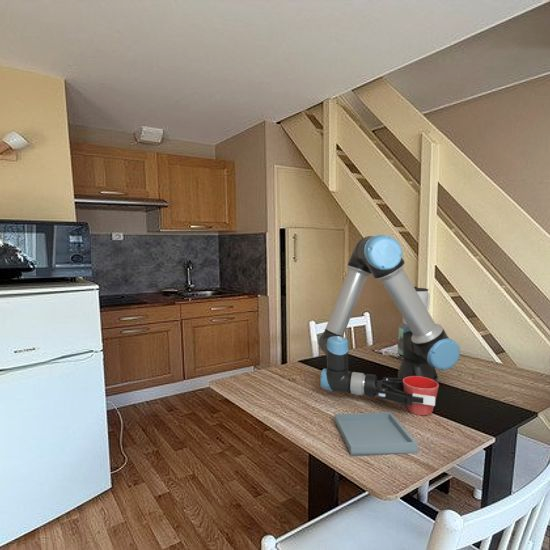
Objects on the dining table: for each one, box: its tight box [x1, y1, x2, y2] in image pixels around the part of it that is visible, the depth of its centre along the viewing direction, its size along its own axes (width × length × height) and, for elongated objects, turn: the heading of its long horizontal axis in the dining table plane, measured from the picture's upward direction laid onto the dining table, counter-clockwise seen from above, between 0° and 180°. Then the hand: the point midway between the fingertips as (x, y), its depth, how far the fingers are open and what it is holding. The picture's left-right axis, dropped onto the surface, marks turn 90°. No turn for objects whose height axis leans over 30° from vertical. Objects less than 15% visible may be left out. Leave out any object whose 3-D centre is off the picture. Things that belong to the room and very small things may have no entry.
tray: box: [334, 411, 419, 457], centre depth 100 cm, size 18×18×2 cm
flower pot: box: [403, 376, 440, 416], centre depth 115 cm, size 11×11×10 cm
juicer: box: [397, 286, 431, 358], centre depth 171 cm, size 19×13×35 cm
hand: (434, 394), depth 113 cm, fingers closed on flower pot, 10 cm apart
